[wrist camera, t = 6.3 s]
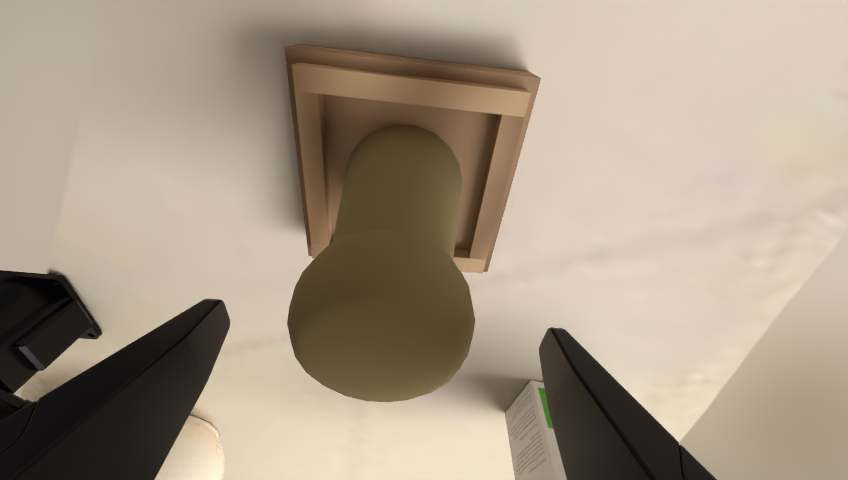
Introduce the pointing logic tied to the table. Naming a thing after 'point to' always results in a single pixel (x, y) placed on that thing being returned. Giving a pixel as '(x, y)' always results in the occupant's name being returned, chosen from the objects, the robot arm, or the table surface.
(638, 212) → the table surface
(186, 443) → the lidded bowl
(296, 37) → the table surface
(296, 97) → the square wooden tray
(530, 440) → the skincare box
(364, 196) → the olive pear-shaped figure
